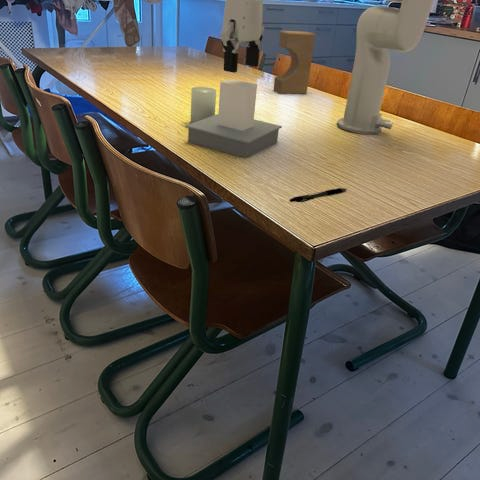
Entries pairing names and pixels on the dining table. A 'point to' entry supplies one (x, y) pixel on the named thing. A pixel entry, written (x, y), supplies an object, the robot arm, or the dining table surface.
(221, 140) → the podium
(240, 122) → the carton
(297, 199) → the pen
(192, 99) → the grey cylinder
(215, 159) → the dining table surface
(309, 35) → the decorative block
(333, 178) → the dining table surface
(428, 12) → the robot arm
